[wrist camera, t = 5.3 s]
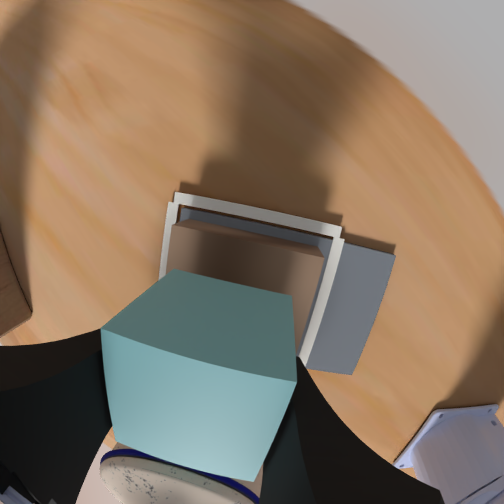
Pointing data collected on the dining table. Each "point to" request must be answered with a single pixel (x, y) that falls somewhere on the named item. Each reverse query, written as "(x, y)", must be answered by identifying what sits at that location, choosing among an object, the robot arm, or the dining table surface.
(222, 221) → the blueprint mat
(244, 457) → the teal cube
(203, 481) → the teacup with lid
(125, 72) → the dining table surface
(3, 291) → the wooden block
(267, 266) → the walnut base
